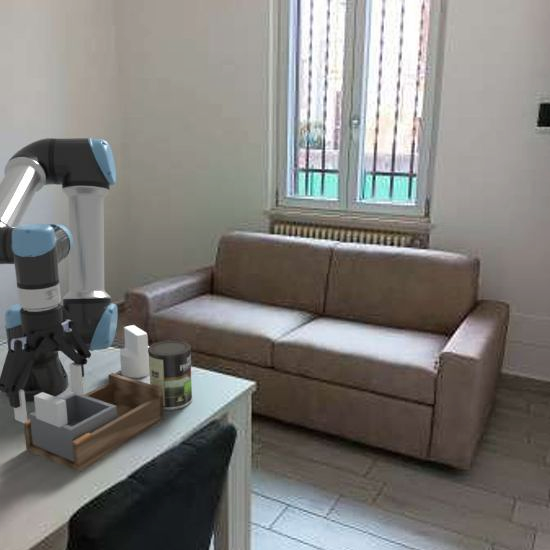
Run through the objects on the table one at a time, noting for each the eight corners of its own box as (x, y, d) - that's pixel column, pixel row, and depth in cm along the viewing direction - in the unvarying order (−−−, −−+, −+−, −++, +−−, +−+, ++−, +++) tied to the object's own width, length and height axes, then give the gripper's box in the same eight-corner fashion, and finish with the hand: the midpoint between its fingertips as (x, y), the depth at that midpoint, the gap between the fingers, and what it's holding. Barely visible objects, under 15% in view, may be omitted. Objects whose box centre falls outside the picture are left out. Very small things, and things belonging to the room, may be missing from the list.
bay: (26, 449, 124) (22, 414, 122) (114, 403, 145) (112, 373, 143) (78, 472, 116) (75, 435, 114) (164, 419, 137) (162, 388, 135)
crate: (30, 445, 123) (25, 392, 120) (78, 420, 133) (74, 371, 130) (72, 463, 116) (67, 407, 113) (118, 435, 127) (115, 384, 124)
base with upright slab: (115, 369, 165) (113, 329, 162) (145, 362, 170) (143, 322, 167) (129, 380, 158) (126, 338, 155) (159, 372, 163) (158, 331, 160)
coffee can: (198, 393, 150) (196, 341, 147) (184, 412, 140) (182, 357, 137) (160, 389, 152) (157, 338, 149) (143, 408, 142) (140, 353, 139)
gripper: (-7, 328, 100) (7, 439, 106) (103, 292, 121) (110, 386, 127) (-33, 320, 104) (-18, 428, 110) (78, 287, 125) (86, 379, 130)
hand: (50, 406), depth 118 cm, fingers open, 13 cm apart
